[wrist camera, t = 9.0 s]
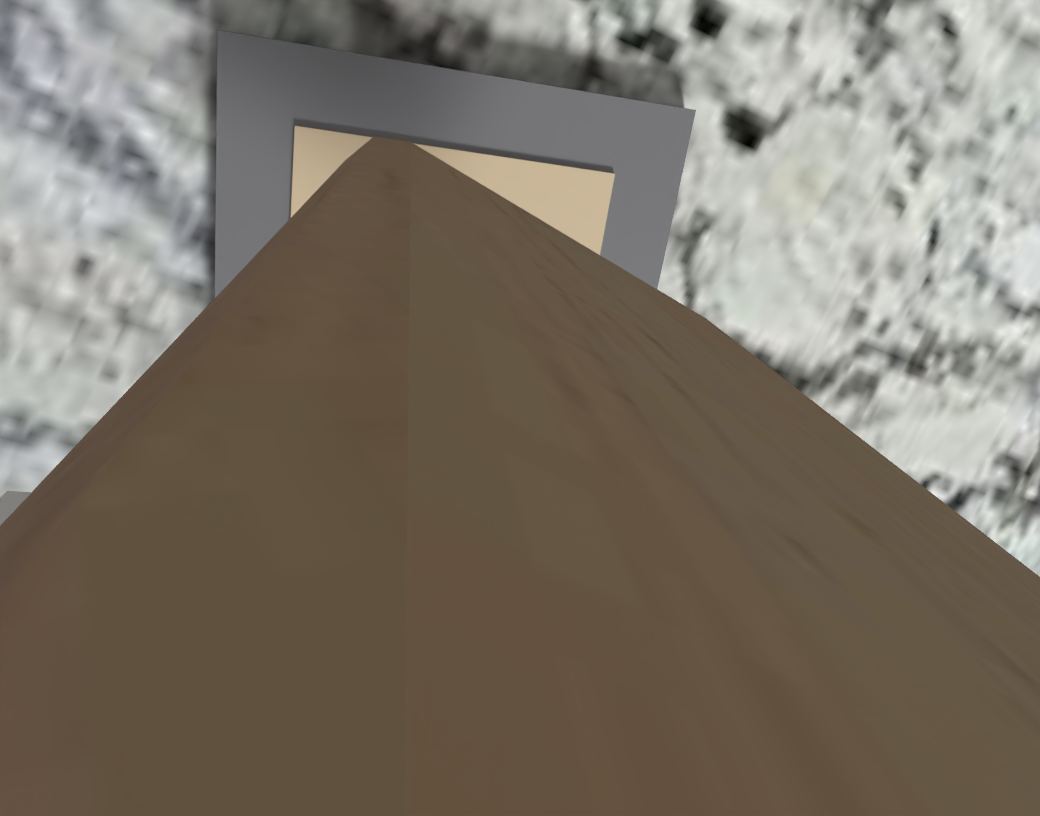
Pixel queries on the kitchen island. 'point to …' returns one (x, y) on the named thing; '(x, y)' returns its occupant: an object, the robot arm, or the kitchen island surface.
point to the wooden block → (494, 557)
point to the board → (439, 145)
